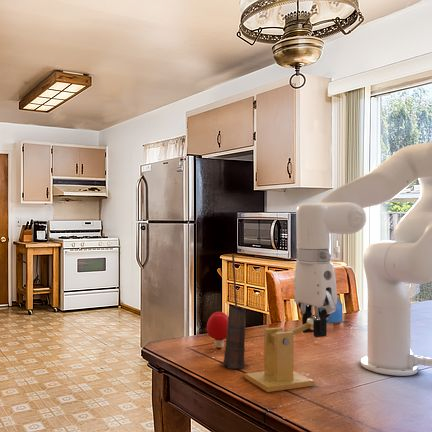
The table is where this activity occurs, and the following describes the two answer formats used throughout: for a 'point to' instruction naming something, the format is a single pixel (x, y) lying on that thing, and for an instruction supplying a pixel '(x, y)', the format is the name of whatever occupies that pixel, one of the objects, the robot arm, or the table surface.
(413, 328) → the table surface
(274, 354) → the bracket
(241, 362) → the butter churn
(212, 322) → the red rounded lump
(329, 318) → the perfume bottle
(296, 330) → the switch lever
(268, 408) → the table surface
